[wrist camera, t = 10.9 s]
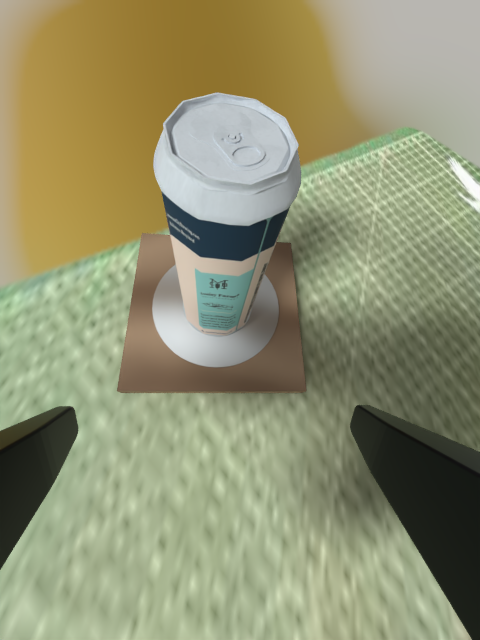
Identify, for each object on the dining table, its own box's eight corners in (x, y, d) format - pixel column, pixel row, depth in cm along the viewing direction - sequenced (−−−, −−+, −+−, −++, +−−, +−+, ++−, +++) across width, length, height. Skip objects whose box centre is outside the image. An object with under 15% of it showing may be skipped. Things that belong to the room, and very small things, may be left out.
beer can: (228, 268, 20) (254, 72, 9) (263, 318, 19) (344, 163, 8) (171, 295, 19) (117, 104, 8) (204, 352, 17) (200, 222, 6)
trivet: (301, 392, 18) (307, 390, 17) (121, 392, 17) (115, 390, 16) (287, 250, 23) (291, 241, 22) (144, 241, 21) (141, 231, 20)
